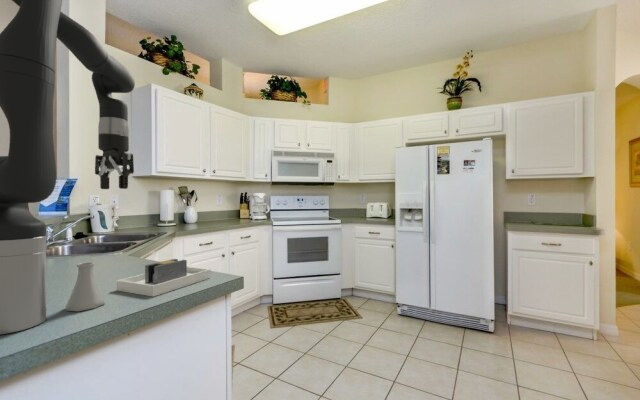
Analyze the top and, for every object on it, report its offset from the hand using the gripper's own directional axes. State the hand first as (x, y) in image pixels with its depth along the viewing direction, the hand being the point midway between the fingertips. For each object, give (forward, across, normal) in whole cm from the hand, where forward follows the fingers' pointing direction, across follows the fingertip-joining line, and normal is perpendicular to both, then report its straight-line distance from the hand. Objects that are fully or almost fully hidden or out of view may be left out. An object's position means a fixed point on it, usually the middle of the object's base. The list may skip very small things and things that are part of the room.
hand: (114, 188), depth 90 cm
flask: (+28, +15, -16) cm, 36 cm away
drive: (+27, +16, +5) cm, 32 cm away
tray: (+28, +16, +5) cm, 33 cm away
